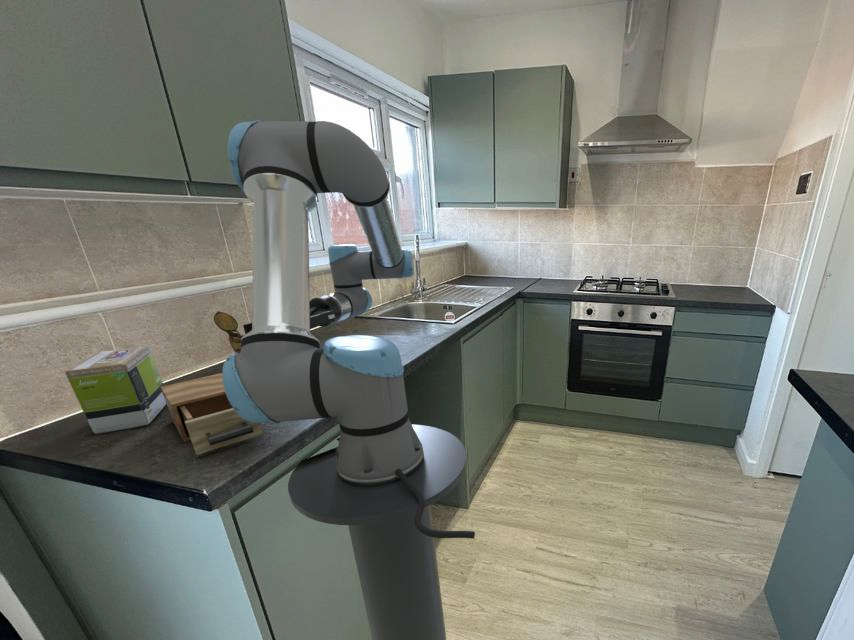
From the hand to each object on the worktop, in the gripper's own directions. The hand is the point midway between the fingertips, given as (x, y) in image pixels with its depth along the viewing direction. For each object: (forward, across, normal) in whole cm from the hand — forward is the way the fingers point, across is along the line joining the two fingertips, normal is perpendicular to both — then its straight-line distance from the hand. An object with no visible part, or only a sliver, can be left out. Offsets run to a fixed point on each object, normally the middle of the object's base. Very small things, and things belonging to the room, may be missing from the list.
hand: (257, 331), depth 88 cm
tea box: (+8, +33, -20) cm, 39 cm away
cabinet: (+6, +12, -20) cm, 24 cm away
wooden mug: (-24, +33, -20) cm, 45 cm away
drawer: (+13, +1, -19) cm, 23 cm away
